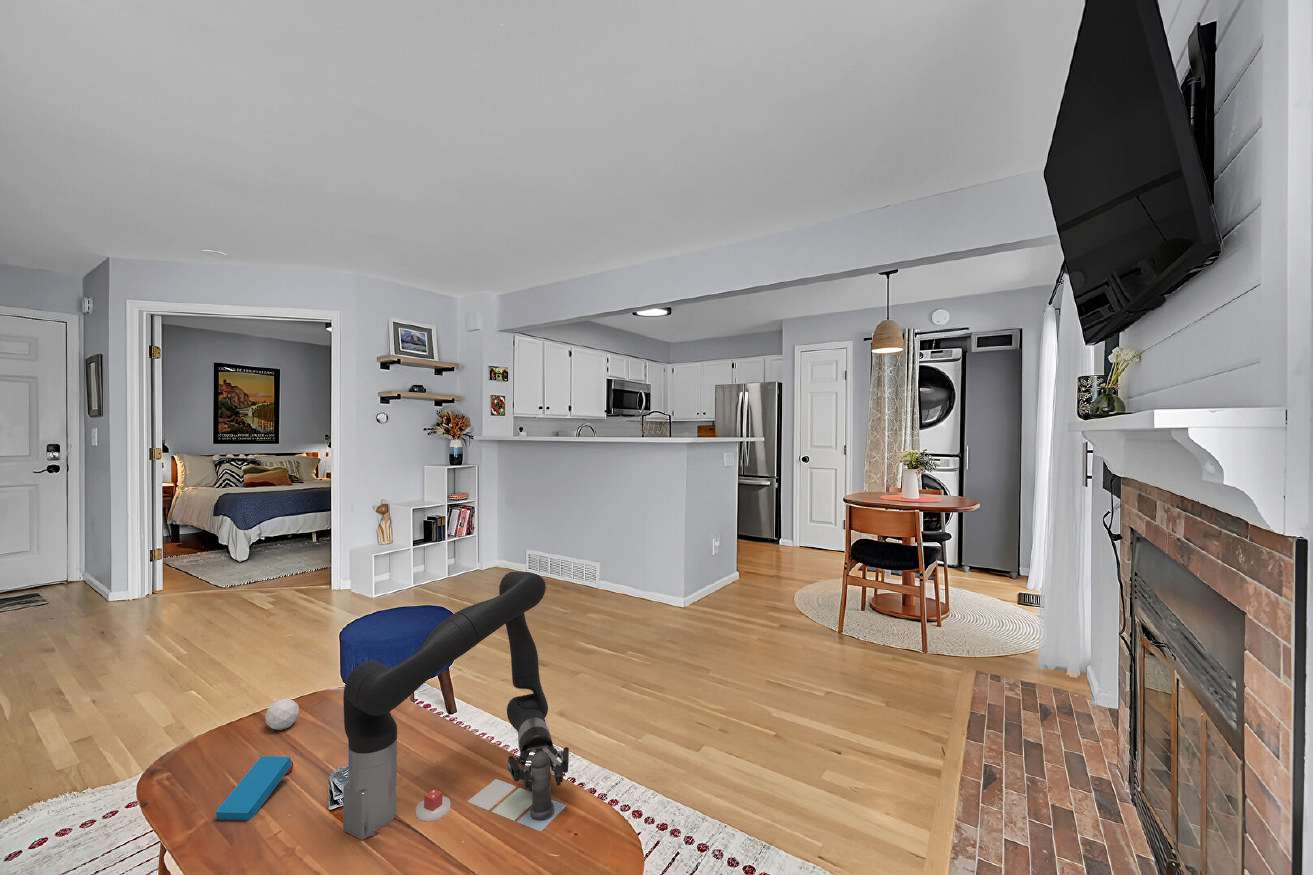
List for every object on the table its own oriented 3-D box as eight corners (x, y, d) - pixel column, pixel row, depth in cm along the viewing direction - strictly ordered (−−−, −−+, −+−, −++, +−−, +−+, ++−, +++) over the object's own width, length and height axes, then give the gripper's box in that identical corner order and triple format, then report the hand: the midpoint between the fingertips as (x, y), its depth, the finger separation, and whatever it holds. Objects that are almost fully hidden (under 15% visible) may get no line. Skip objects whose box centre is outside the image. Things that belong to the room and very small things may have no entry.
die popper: (431, 830, 118) (432, 807, 118) (408, 819, 121) (408, 797, 121) (457, 810, 125) (457, 788, 125) (434, 800, 128) (434, 779, 128)
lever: (254, 837, 122) (304, 767, 139) (247, 812, 120) (300, 744, 137) (222, 837, 122) (276, 766, 139) (215, 812, 120) (271, 743, 137)
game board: (539, 840, 116) (539, 834, 116) (462, 808, 125) (462, 803, 125) (570, 808, 126) (570, 803, 126) (497, 781, 135) (497, 776, 135)
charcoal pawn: (544, 820, 119) (542, 759, 120) (525, 815, 121) (523, 755, 122) (558, 807, 124) (556, 748, 124) (540, 803, 126) (538, 744, 127)
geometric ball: (282, 740, 156) (274, 726, 151) (264, 724, 158) (254, 710, 153) (308, 717, 161) (301, 703, 156) (290, 702, 164) (282, 687, 159)
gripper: (504, 730, 134) (509, 771, 118) (565, 721, 138) (578, 760, 122) (503, 762, 134) (509, 808, 118) (564, 751, 138) (578, 794, 122)
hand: (544, 783), depth 120 cm, fingers open, 5 cm apart
